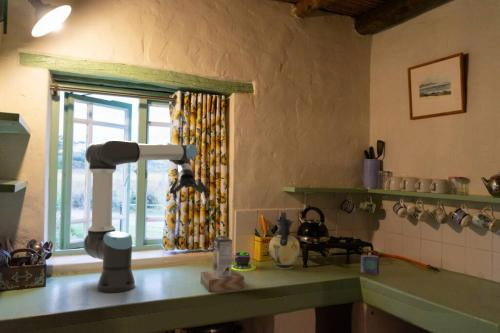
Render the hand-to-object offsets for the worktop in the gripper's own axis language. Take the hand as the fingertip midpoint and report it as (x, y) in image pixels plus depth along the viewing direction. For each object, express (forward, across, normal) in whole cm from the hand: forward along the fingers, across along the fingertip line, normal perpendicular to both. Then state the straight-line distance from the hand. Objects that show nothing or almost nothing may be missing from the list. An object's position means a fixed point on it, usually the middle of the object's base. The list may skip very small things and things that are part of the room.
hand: (191, 202), depth 180 cm
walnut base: (+43, -9, -8) cm, 44 cm away
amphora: (+27, -52, -24) cm, 63 cm away
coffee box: (+39, -9, -4) cm, 40 cm away
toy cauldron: (+23, -30, -28) cm, 47 cm away
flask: (+46, -89, -5) cm, 100 cm away
